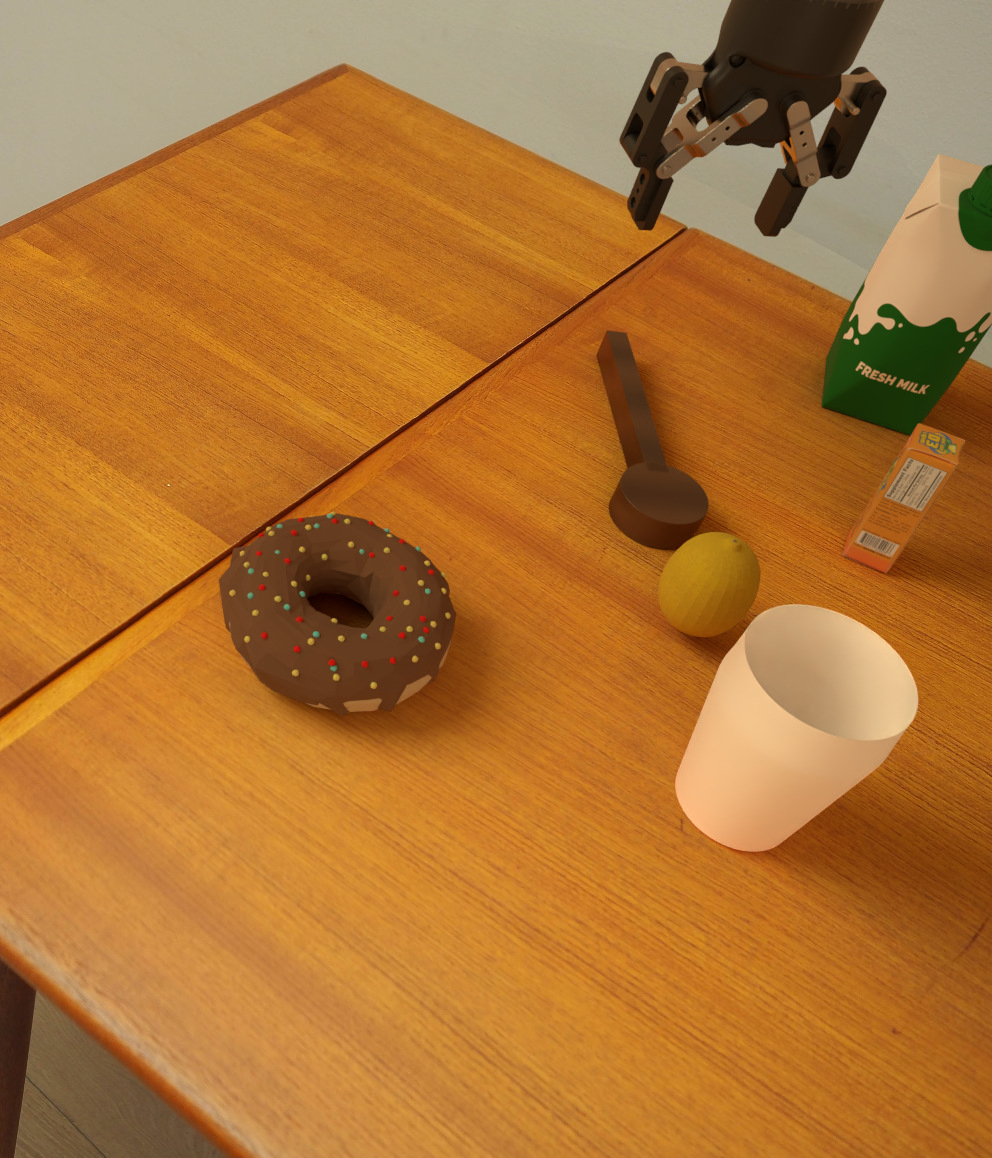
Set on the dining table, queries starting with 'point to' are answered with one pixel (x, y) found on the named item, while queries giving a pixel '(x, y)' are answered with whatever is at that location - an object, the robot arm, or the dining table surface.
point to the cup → (792, 725)
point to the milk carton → (918, 303)
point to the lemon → (709, 584)
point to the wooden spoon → (645, 460)
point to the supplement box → (903, 498)
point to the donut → (316, 641)
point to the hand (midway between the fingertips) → (702, 226)
